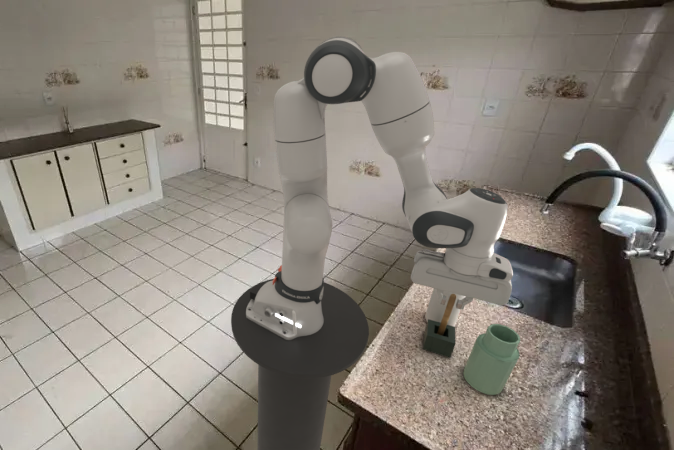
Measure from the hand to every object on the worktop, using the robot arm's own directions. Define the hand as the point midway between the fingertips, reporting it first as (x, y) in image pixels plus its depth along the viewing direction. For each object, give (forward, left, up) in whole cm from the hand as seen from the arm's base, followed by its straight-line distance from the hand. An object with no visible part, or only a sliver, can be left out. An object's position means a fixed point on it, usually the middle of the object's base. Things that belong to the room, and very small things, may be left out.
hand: (450, 305), depth 86 cm
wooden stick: (0, 0, -14) cm, 14 cm away
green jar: (+10, -7, -14) cm, 18 cm away
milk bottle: (+1, +10, -14) cm, 17 cm away
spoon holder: (0, 0, -14) cm, 14 cm away
